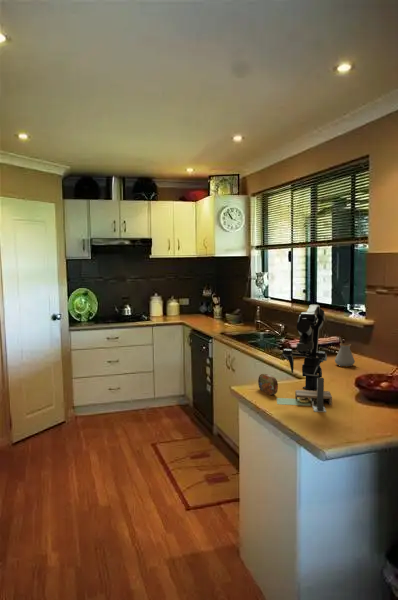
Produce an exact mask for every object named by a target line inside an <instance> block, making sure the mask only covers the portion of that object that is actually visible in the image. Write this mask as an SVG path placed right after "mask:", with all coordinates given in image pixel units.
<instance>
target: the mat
mask: <svg viewBox="0 0 398 600" xmlns="http://www.w3.org/2000/svg"><path fill="white" fill-rule="evenodd" d="M276 404H277V405H285V406H286V405H287V406H309V407H312V404H311V401H310V400H309V403H307V404H303V403H300V402H299V398H297V399H295V398H287V397H285V398H284V397H276Z"/></svg>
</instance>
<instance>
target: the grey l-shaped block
mask: <svg viewBox="0 0 398 600" xmlns="http://www.w3.org/2000/svg"><path fill="white" fill-rule="evenodd" d="M324 386H325V379H324V377H320V378H317V390H316V391H317V400H313V398H310V400H309V401H310V404H311V407H312V409H313V412H314V413H327V408H326V407H325V405H324V400H323V396H324V391H325V390H324V388H325V387H324Z"/></svg>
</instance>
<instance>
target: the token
mask: <svg viewBox="0 0 398 600" xmlns="http://www.w3.org/2000/svg"><path fill="white" fill-rule="evenodd" d="M298 399H299V402H300V403H303V404H307V403H309V401H310V400H311V398H299V397H298Z"/></svg>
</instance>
